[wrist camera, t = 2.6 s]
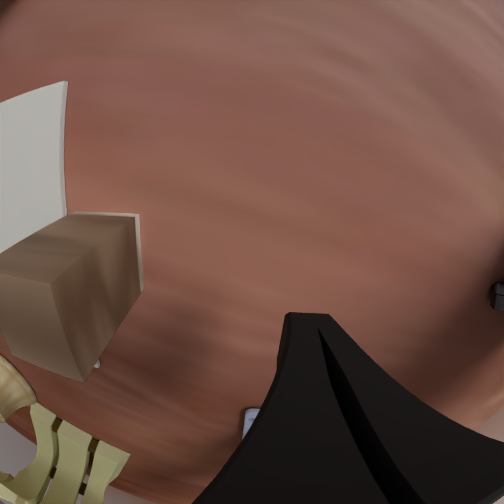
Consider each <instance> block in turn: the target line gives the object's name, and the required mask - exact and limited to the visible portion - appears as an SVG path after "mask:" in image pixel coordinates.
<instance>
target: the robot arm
mask: <svg viewBox="0 0 504 504" xmlns="http://www.w3.org/2000/svg"><path fill="white" fill-rule="evenodd" d="M503 496H504V442H501V441H498V440H495V439H492V438H489V437H486V436H484V435H482V434H479V433H477V432H475V431H473V430H471V429H468V428H466V427H464V426H462V425H460V424H458V423H457V422H455V421H453V420H451V419H449V418H448V417H446V416H444V415H443V414H441V413H439V412H438V411H436V410H434V409H433V408H431V407H430V406H428V405H427V404H425V403H424V402H422V401H421V400H420V399H418V398H417V397H416V396H414V395H413V394H412V393H410V392H409V391H408V390H406V389H405V388H404V387H402V386H401V385H400V384H399V383H398V382H396V381H395V380H394V379H393V378H392V377H391V376H390V375H388V374H387V373H386V372H385V371H384V370H383V369H382V368H381V367H380V366H379V365H377V364H376V363H375V362H374V361H373V360H372V359H371V358H370V357H369V356H368V355H367V354H366V353H365V352H364V351H363V350H362V349H361V348H360V347H359V346H358V345H357V343H356V342H355V341H354V340H353V339H352V338H351V337H350V336H349V335H348V334H347V333H346V332H345V331H344V330H343V329H342V327H341V326H340V325H339V324H338V323H337V322H336V321H335V320H334V319H333V318H332V317H331V316H330V315H329V314H317V313H297V312H289V313H287V314H286V315H285V318H284V324H283V329H282V335H281V340H280V345H279V351H278V356H277V371H276V374H275V377H274V380H273V382H272V385H271V387H270V390H269V392H268V394H267V396H266V398H265V400H264V402H263V404H262V406H261V408H260V409H254V408H252V409H248V410H246V412H245V419H244V427H243V436H242V441H241V443H240V444H239V446H238V447H237V448H236V450H235V451H234V453H233V454H232V456H231V457H230V458H229V460H228V461H227V462H226V464H225V465H224V467H223V468H222V469H221V471H220V472H219V473H218V474H217V476H216V477H215V478H214V479H213V480H212V482H211V483H210V484H209V485H208V486H207V487H206V488H205V490H204V491H203V492H202V493H201V494H200V495H199V496H198V497H197V498H196V499H195V500H194V502H193V503H192V504H493V503H494V502H495V501H497V500H498V499H500V498H501V497H503ZM0 504H4V503H3V502H2V501H0Z"/></svg>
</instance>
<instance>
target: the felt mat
mask: <svg viewBox="0 0 504 504" xmlns="http://www.w3.org/2000/svg"><path fill="white" fill-rule="evenodd" d="M67 87H68V82H66V81H62V82H59V83H55V84H52V85H48V86H45V87H42V88H39V89H36V90H33V91H30V92H27V93H24V94H22V95H19V96H16V97H14V98H11V99H9V100H6V101H4V102H1V103H0V253H2V252H3V251H5V250H6V249H8V248H10V247H11V246H13V245H14V244H16V243H18V242H19V241H21V240H23V239H24V238H26V237H28V236H30V235H31V234H33V233H35V232H37V231H38V230H40V229H42V228H44V227H46V226H47V225H49V224H51V223H53V222H55V221H57V220H59V219H60V218H62V217H64V216H66V215H67V209H66V197H65V180H64V125H65V109H66V97H67ZM94 367H95V368H99V367H100V362H99V359H98V361H97V362H96V364H95V366H94Z"/></svg>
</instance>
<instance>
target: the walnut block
mask: <svg viewBox="0 0 504 504" xmlns="http://www.w3.org/2000/svg"><path fill="white" fill-rule="evenodd" d="M143 289H144V279H143V269H142V257H141V244H140V226H139V214H128V213H103V212H72V213H70V214H68V215H66V216H64V217H62V218H60V219H59V220H57V221H55V222H53V223H51V224H49V225H47V226H46V227H44V228H42V229H40V230H38V231H37V232H35V233H33V234H31V235H30V236H28V237H26V238H24V239H23V240H21V241H19V242H18V243H16V244H14V245H13V246H11V247H10V248H8V249H6V250H5V251H3V252H2V253H0V329H1V332H2V334H3V336H4V339H5V341H6V343H7V345H8V347H9V349H10V351H11V353H12V355H13V356H15V357H17V358H19V359H22V360H24V361H26V362H28V363H31V364H33V365H35V366H38V367H40V368H43V369H45V370H48V371H50V372H53V373H56V374H58V375H61V376H64V377H67V378H70V379H73V380H76V381H79V382H82V383H85V381H86V380H87V378H88V376H89V374H90V373H91V371H92V369H93V368H94V366H95V364H96V362H97V361H98V359H99V357H100V356H101V354H102V353H103V351H104V349H105V348H106V346H107V344H108V343H109V341H110V340H111V338H112V336H113V335H114V333H115V332H116V330H117V328H118V327H119V325H120V324H121V322H122V321H123V319H124V318H125V316H126V314H127V313H128V311H129V310H130V308H131V307H132V305H133V304H134V302H135V301H136V299H137V298H138V296H139V295H140V293H141V292H142V290H143Z"/></svg>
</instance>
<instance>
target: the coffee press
mask: <svg viewBox="0 0 504 504" xmlns="http://www.w3.org/2000/svg"><path fill="white" fill-rule="evenodd" d="M490 305H491V307H492V308H493V309H495V310H498V311H504V282H496V283H494V284H493V285H492V290H491V299H490Z"/></svg>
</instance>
